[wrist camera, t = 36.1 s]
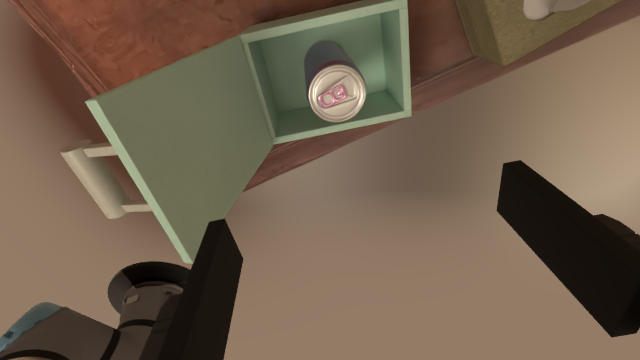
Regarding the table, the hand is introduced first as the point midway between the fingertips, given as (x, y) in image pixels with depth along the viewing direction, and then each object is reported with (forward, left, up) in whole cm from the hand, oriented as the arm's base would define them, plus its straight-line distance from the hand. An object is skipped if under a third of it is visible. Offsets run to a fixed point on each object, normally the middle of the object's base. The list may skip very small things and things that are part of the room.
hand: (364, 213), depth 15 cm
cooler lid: (0, +10, -14) cm, 18 cm away
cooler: (0, -1, -34) cm, 34 cm away
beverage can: (0, -1, -33) cm, 33 cm away
